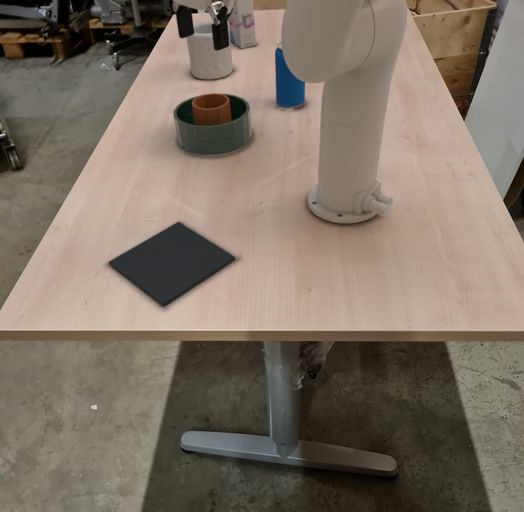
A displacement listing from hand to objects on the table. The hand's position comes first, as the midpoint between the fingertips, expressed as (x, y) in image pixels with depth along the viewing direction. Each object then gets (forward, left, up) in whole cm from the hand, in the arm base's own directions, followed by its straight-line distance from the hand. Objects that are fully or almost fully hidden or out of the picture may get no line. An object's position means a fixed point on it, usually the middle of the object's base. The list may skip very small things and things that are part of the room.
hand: (203, 42), depth 87 cm
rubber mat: (-25, +31, -18) cm, 44 cm away
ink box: (+37, -43, -18) cm, 59 cm away
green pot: (0, 0, -18) cm, 18 cm away
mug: (+29, -24, -18) cm, 41 cm away
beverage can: (-1, -22, -18) cm, 28 cm away
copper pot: (0, 0, -17) cm, 17 cm away
